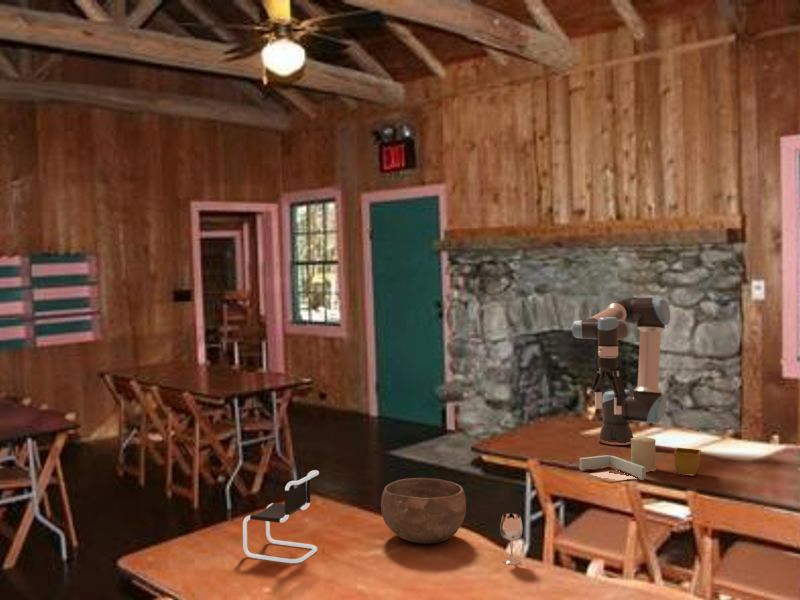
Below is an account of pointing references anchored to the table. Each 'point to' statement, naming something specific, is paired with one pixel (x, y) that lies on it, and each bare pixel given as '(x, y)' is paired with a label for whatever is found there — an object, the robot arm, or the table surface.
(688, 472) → the flower pot
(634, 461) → the can
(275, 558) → the chair
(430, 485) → the bowl
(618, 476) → the tile
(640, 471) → the fence
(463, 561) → the table surface
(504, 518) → the wineglass
